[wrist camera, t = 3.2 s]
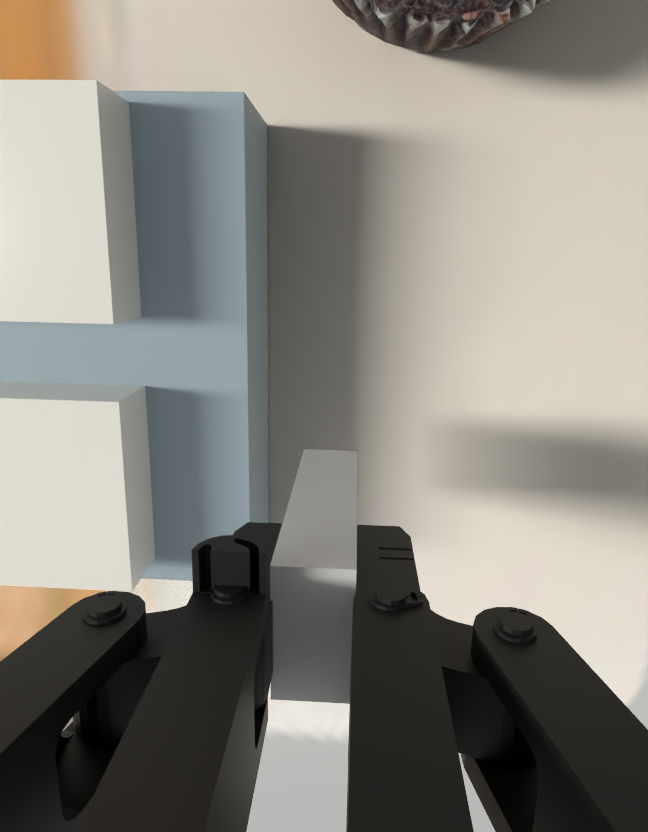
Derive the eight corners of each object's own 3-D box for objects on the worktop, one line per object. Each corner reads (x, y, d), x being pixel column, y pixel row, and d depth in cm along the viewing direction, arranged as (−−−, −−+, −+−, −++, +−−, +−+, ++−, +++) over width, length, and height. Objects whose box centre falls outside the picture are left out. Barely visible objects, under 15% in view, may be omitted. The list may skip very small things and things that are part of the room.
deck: (-211, 120, 20) (-348, 87, 16) (267, 125, 19) (243, 91, 15) (-137, 510, 24) (-234, 560, 20) (268, 528, 23) (250, 583, 19)
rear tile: (-120, 377, 18) (-177, 392, 16) (145, 386, 18) (118, 402, 16) (-91, 546, 19) (-141, 578, 17) (155, 557, 19) (132, 591, 17)
